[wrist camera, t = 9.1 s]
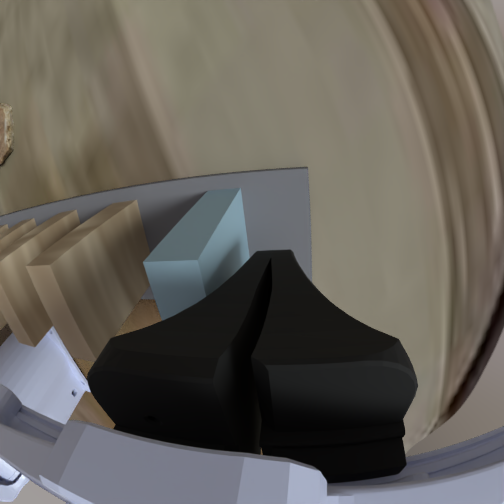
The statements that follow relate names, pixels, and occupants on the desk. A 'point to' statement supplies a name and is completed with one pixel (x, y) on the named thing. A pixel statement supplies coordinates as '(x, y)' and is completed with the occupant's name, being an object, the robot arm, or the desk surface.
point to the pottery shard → (6, 131)
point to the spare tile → (199, 252)
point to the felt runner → (190, 192)
